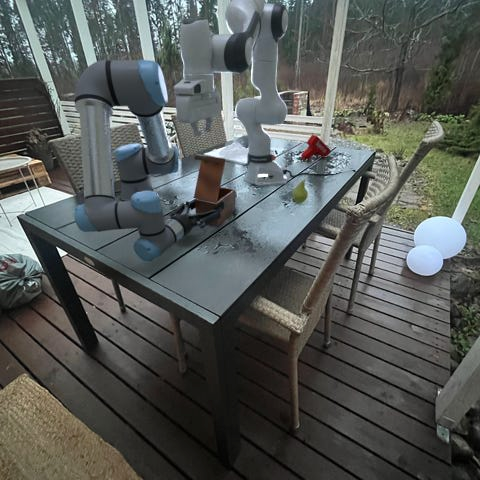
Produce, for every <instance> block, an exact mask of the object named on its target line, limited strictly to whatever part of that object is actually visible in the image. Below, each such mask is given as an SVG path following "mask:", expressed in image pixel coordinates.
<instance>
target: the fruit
mask: <svg viewBox="0 0 480 480" xmlns="http://www.w3.org/2000/svg"><path fill="white" fill-rule="evenodd" d="M310 177H311V175H308V176H307V177H305V179H302V180H301V181H300V182H298V184H297V185H296V186H295V187H294V188H293V190H292V191H291V198H292V200H293V201H294V202H295V203H297V204H301V203H304V202H305V201H306V200H307V198H308V196H309V195H308V190H307V189H306V184H305V183H306V180H308V179H309V178H310Z"/></svg>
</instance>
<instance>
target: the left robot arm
mask: <svg viewBox="0 0 480 480" xmlns="http://www.w3.org/2000/svg"><path fill="white" fill-rule="evenodd" d="M168 100H169V99H168V90H167V86H166V80H165V77H164V74H163V70H162V68H161V66H160V64H159V63H158V62H157V61H155V60H150V59H149V60H147V59H144V58H143V59H124V60H123V59H122V60H121V59H119V60H118V59H117V60H115V59H113V60H112V59H111V60H108V59H101V60H97V61H94V62H93V63H92V64H90V65H89V66H87V68H85V70H84V71H83V72H82V74H81V76H80V77H79V79H78V81H77V84H76V86H75V90H74V109H75V111H76V112H77V113H78V114H79V127H80V144H81V146H80V147H81V163H82V177H83V178H82V181H83V186H81V187H80V188H79V189H78V191H81V190H83V195H84V196H83V197H84V203H82V204H78V205H77V206H76V207H75V209H74V212H73V213H74V216H73V217H74V221H75V225H76V226H77V229H79V230H80V231H81V232H83V233H93V232H97V233H100V232H108V231H116V230H117V231H118V230H128V229H137V231H138V233H139V237H138V238H136V240H135V241H134V242H133V248H132V249H133V251H134V253H135V255H136V256H137V257H138V258H139V259H140V260H141V261H144V262H146V263H150V262H153V261H154V260H156V259H158V258H159V257H161V256H162V255H163V254H164V253H165V252H167V250H169V249H170V248H171V247H173V246H174V245H175V244H176V243H178V242H179V241H181V240H182V239H183V238H185V237H186V236H187V235H188V234H189V233H191V231H192V229H193V228H195V227H198V226H199V227H200V229H204V228H205V227H206V226H208V225H211V224H210V223H212V222H214V221H216V220H218V219H220V218H221V212H222V210H223V209H224V202H221V203H220V204H218V205H217V206H216V207H214V208H213V210H211V211H208V212H205V213H201V214H199V213H197V214H196V213H194V214H192V213H190V211H193V210H195V200H194V199H193V200H192V201H188V200H187V201H185V203H184V202H181V203H180V204H179V205H178V206H177V207H176V209H175V210H173V211H172V212H171V213H169V217H170V218H168V219H166V220H165V216H164V211H163V210H164V209H163V206H162V202H161V199H160V195H159V194H158V192H156V191H155V186H152V184H151V182H150V180H149V178H148V176H152V175H151V174H162V175H166V174H170V175H171V174H176V173H178V171H179V168H180V165H179V164H180V163H179V150H178V146H176V145H173V144H172V143H171V142H170V141H169V138H168V134H167V129H166V125H165V120H164V117H163V112H162V111H163V109H164V107H165V105H167V104H168V102H169V101H168ZM114 107H127V109H128V110H129V112H130V113H131V114H132V115H134V116H135V117H136V119H137V123H138V125H139V128H140V130H141V133H142V135H143V139H144V141H145V144H146V147H143V146H142V144H141V143H129V144H124V145H121V146H118V147H117V148H116V149H115V150H114V159H115V161H114V162H115V163H116V164H115V165H116V168H117V171H118V175H119V179H120V184H121V186H120V190H119V191H115V180H114V179H115V177H114V164H113V150H112V149H113V148H112V135H111V134H112V133H111V120H110V118H111V117H112V116H113V115H114ZM116 194H120V200H121V201H116ZM197 219H198V221H197Z"/></svg>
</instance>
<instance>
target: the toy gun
mask: <svg viewBox="0 0 480 480" xmlns="http://www.w3.org/2000/svg"><path fill="white" fill-rule="evenodd" d="M306 144H307V145H308V147H307V148H306V149H305V150H303V152H302V153H301V154H300V155H301V160H304V159H305V160H304V161H307V162H309V161H310V159H311V158H312V157H313V156H316V157H318V156H319V155H321V156H319V157H320V158H324V159H327V158H326V157H322V156H326V155H328V156H329V155H330V153H331V152H332V150H331V149H330V148H329V147H328V146H327V145H326V144H325V143H324V142H323V141H322V140H321V138H319V136H317V135H314V134H311V136H310V137H309V138H308V139H307V142H306ZM306 159H309V160H306Z"/></svg>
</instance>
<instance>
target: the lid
mask: <svg viewBox="0 0 480 480" xmlns="http://www.w3.org/2000/svg"><path fill="white" fill-rule="evenodd" d="M194 160H196V161H200V164H199V169H198V174H197V179H196V185H195V190H194V194H193V199H201V200H205V201H210V202H215V203H217V199H218V194H219V189H220V187H221V184H222V179H223V174H224V169H225V165H226V162H227V161H226V159H223V158H216V157H210V156H204V154H195V155H194Z"/></svg>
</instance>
